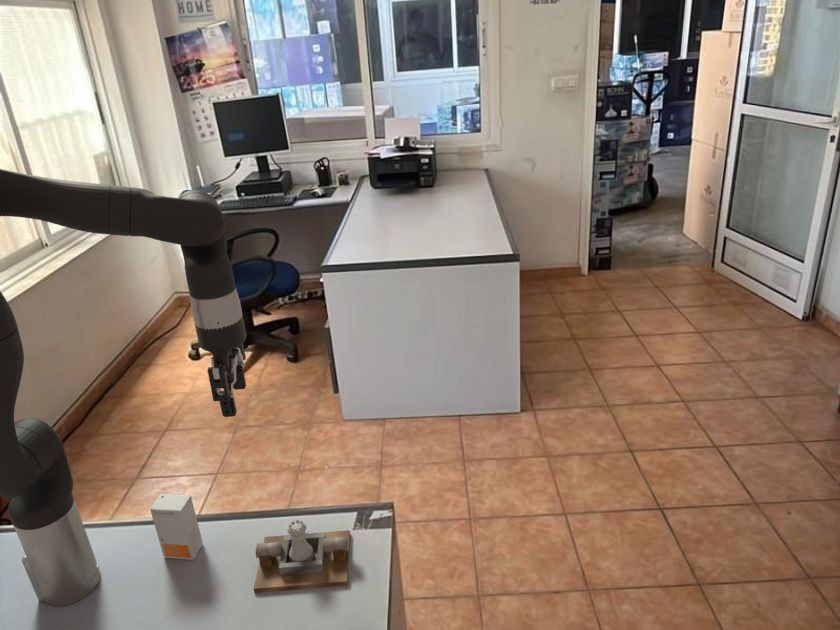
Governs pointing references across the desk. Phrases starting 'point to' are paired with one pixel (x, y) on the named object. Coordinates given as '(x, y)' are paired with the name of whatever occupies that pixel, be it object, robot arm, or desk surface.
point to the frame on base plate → (303, 563)
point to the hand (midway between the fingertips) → (235, 401)
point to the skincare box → (176, 526)
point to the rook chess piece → (299, 543)
